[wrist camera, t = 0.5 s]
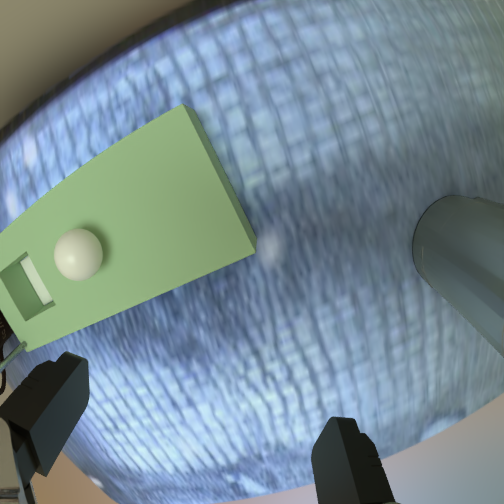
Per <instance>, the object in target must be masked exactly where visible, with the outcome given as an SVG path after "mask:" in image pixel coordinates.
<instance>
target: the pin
mask: <svg viewBox="0 0 504 504" xmlns="http://www.w3.org/2000/svg"><path fill="white" fill-rule="evenodd" d="M26 347H27V343H26V341H23V342H22V343H21V344H20V345H19V346H18V347H16V348H15V349H14V350H13V351H12V352H11V353H10V354H9V355H8V356H7V357H6V358H5V359H4V360H3V361H2V362H1V363H0V373H1V372H2V371H3V370H4V369H5V368H6V367H7V366H8V365H9V364H10V363H11V362H12V361H13V360H14V359H15V358H16V357H17V356H18V355H19V354H20V353H21V352H22V351H23V350H24V349H25V348H26Z"/></svg>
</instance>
